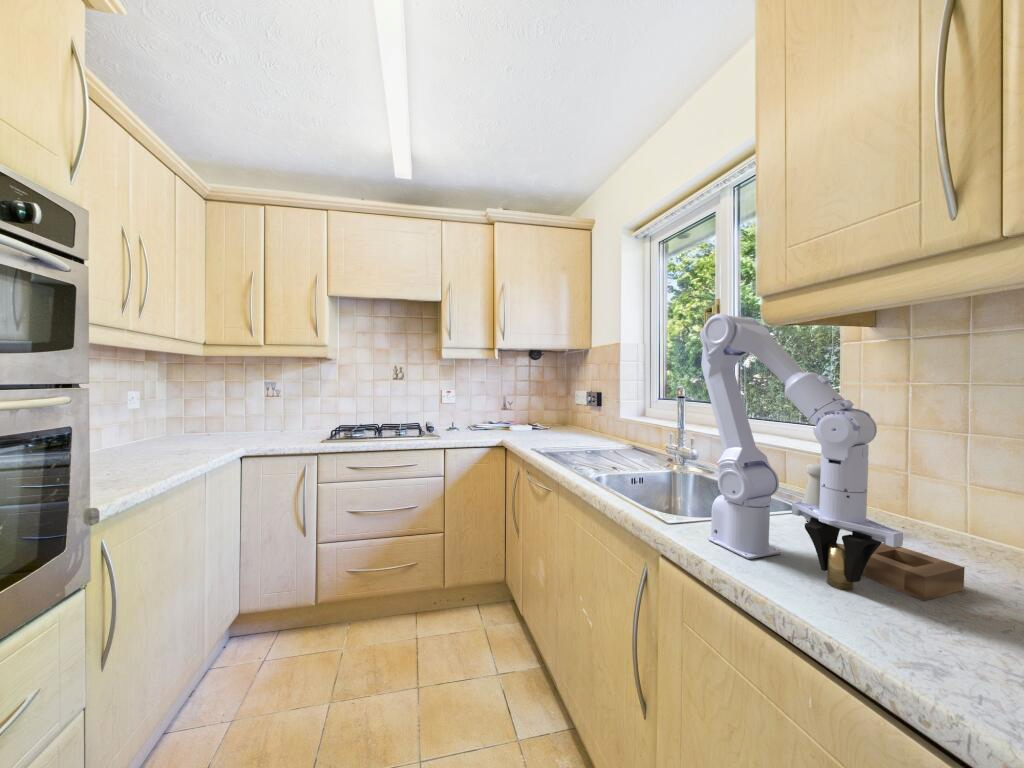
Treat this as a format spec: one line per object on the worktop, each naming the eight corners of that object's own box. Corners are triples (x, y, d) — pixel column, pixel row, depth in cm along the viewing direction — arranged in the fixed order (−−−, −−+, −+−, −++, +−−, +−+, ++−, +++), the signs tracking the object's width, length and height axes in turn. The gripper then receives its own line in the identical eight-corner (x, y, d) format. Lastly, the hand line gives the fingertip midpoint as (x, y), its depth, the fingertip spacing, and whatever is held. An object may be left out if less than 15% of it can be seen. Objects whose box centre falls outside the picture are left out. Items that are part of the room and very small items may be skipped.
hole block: (848, 570, 70) (849, 549, 70) (886, 561, 73) (887, 542, 73) (924, 600, 60) (925, 577, 60) (963, 589, 64) (964, 567, 64)
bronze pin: (821, 582, 66) (823, 544, 65) (835, 579, 67) (836, 541, 67) (844, 592, 63) (845, 552, 62) (858, 588, 64) (859, 549, 64)
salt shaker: (819, 517, 96) (821, 461, 96) (839, 526, 90) (841, 467, 90) (794, 517, 96) (796, 461, 96) (813, 526, 90) (815, 466, 90)
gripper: (779, 478, 70) (777, 558, 70) (881, 504, 56) (878, 603, 56) (809, 475, 72) (806, 553, 72) (913, 499, 59) (910, 595, 59)
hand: (840, 575), depth 65 cm, fingers closed on bronze pin, 3 cm apart
